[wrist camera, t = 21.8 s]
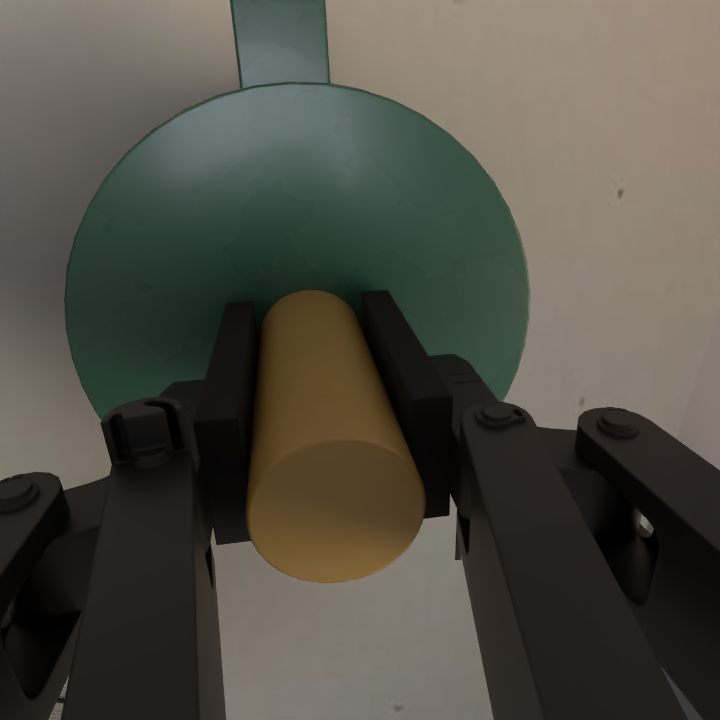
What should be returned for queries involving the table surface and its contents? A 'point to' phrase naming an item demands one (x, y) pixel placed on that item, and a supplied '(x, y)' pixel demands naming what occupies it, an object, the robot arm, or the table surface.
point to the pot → (280, 41)
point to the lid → (300, 295)
